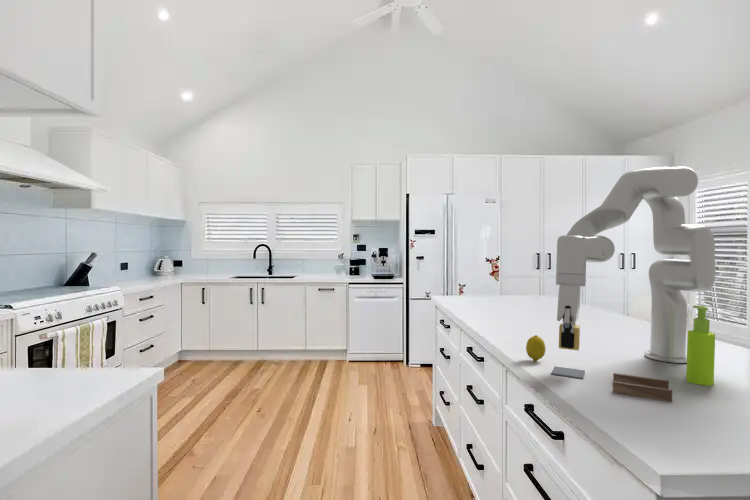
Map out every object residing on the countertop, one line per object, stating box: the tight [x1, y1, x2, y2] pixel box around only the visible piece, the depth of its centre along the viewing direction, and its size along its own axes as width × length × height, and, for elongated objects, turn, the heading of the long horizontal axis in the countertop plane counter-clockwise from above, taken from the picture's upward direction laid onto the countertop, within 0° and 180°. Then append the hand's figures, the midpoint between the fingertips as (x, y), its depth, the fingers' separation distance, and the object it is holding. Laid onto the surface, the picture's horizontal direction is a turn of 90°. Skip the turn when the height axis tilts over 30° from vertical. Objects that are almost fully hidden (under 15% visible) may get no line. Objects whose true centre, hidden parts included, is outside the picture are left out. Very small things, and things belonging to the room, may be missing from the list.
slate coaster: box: [550, 366, 586, 380], centre depth 124 cm, size 8×8×1 cm
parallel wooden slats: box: [612, 372, 673, 403], centre depth 110 cm, size 9×12×2 cm
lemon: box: [525, 334, 546, 362], centre depth 137 cm, size 6×6×8 cm
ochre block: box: [558, 323, 581, 351], centre depth 124 cm, size 5×5×6 cm
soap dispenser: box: [685, 305, 716, 387], centre depth 119 cm, size 6×7×20 cm
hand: (568, 344), depth 124 cm, fingers closed on ochre block, 5 cm apart
